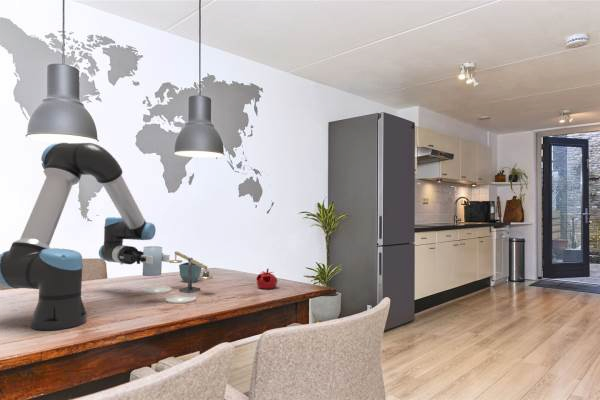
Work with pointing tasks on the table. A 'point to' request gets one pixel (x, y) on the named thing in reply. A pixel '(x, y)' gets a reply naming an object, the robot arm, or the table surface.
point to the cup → (157, 261)
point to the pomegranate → (266, 280)
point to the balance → (190, 262)
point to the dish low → (180, 299)
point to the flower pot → (184, 272)
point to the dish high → (157, 289)
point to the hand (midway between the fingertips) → (160, 259)
